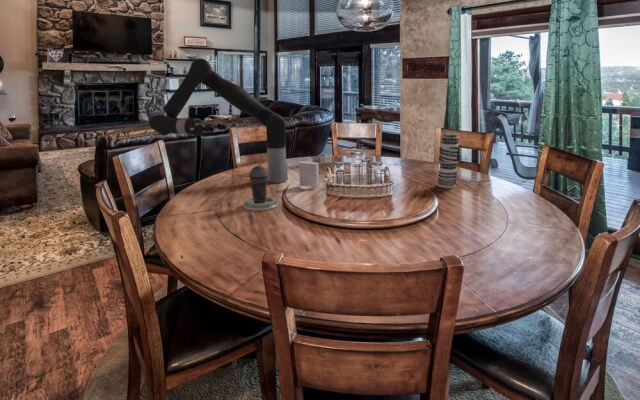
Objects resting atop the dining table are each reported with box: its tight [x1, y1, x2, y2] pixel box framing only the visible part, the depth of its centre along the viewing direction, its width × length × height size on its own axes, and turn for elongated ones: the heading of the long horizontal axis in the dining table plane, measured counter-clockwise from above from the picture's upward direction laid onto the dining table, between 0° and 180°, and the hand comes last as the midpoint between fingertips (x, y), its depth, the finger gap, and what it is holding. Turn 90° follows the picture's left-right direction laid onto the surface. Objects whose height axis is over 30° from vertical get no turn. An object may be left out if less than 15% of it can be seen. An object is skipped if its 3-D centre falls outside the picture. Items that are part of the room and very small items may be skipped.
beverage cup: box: [249, 154, 268, 204], centre depth 177 cm, size 7×7×20 cm
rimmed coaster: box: [242, 195, 279, 212], centre depth 180 cm, size 14×14×2 cm
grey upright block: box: [298, 161, 319, 186], centre depth 208 cm, size 9×9×12 cm
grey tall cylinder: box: [437, 132, 461, 189], centre depth 207 cm, size 9×9×25 cm
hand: (219, 128), depth 188 cm, fingers open, 8 cm apart
